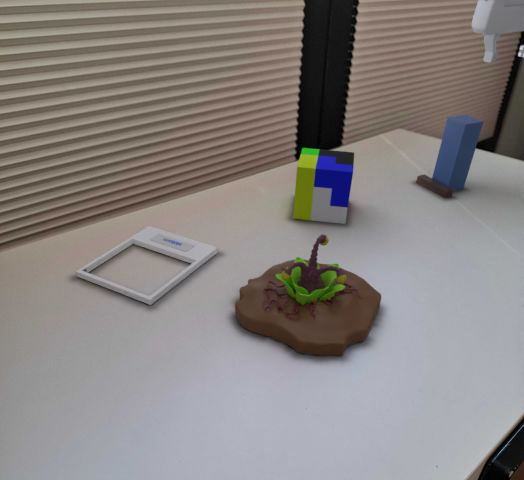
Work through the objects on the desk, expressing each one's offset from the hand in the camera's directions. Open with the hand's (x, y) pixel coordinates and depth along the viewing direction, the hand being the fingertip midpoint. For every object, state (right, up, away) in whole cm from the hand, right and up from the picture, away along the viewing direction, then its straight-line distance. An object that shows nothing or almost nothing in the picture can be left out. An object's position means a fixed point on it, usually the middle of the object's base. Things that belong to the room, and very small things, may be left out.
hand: (506, 59), depth 93 cm
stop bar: (-8, -19, +17) cm, 26 cm away
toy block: (-4, -18, +18) cm, 26 cm away
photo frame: (-63, -40, -10) cm, 75 cm away
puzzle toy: (-33, -26, +8) cm, 43 cm away
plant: (-38, -48, -18) cm, 63 cm away
